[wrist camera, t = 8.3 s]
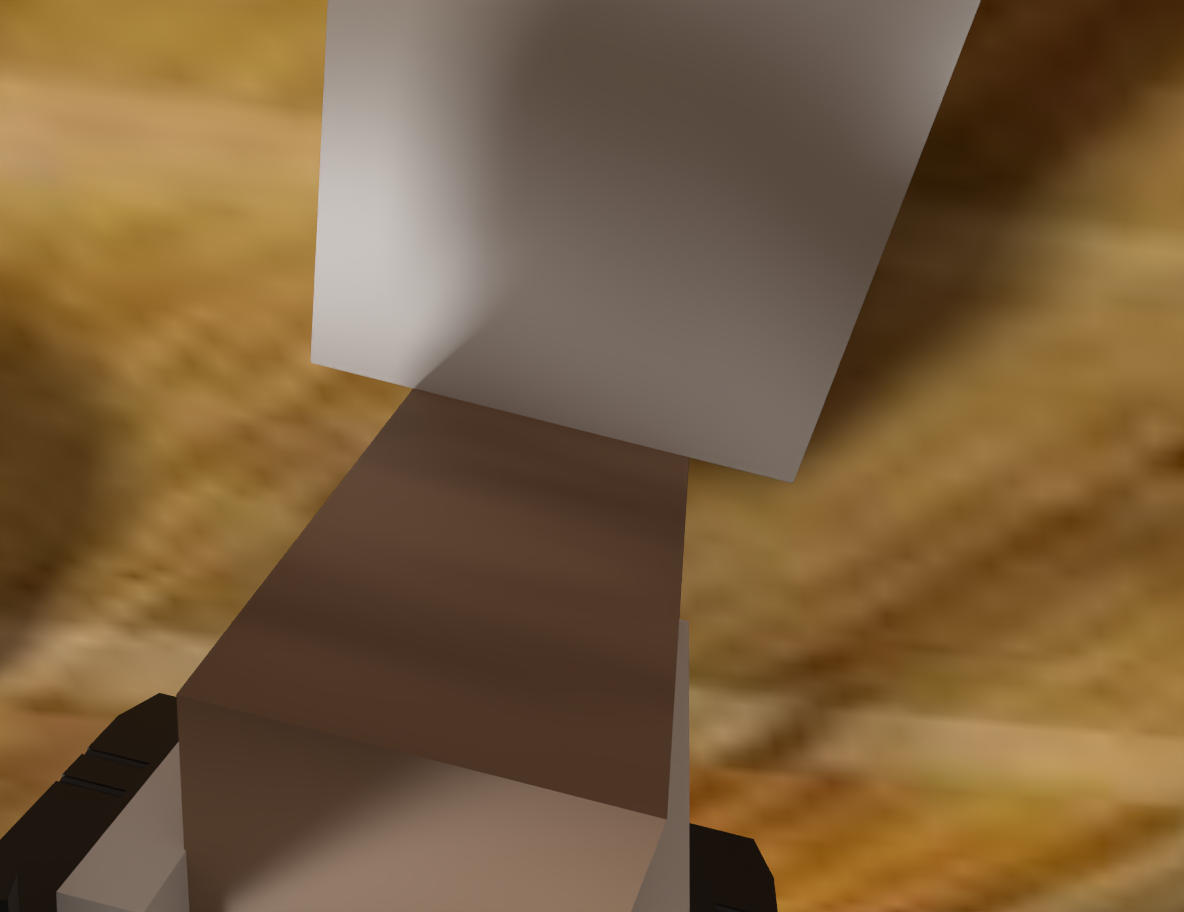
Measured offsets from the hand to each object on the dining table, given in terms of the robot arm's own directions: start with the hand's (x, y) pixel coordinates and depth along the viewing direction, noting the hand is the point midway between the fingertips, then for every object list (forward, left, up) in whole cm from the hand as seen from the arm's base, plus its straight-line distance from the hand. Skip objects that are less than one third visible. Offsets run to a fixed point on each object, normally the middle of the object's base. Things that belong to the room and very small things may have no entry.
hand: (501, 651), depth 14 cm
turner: (0, -4, -1) cm, 4 cm away
